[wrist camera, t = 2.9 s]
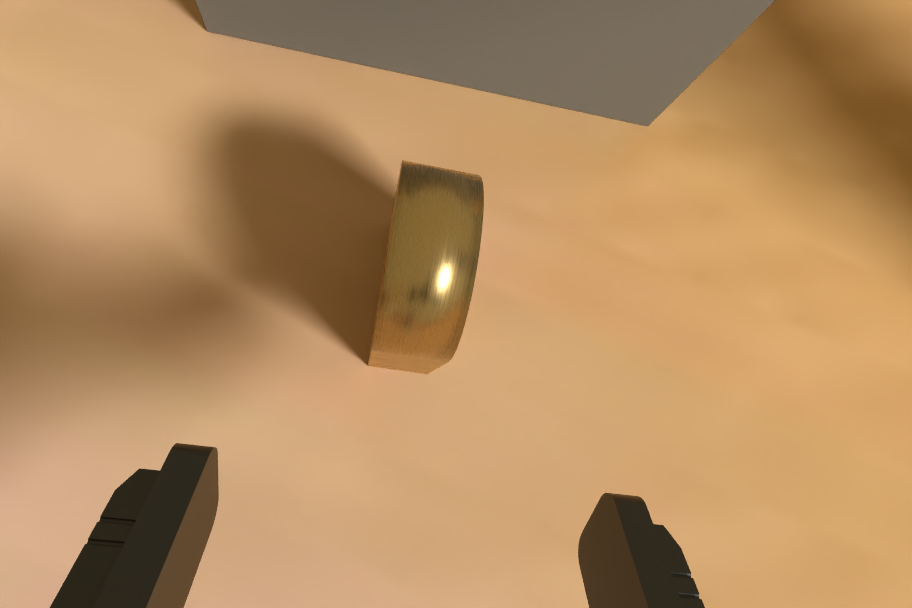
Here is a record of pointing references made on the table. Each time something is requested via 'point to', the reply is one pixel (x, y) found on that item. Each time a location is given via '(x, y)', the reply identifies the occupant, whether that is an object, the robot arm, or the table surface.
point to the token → (427, 268)
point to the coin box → (511, 43)
